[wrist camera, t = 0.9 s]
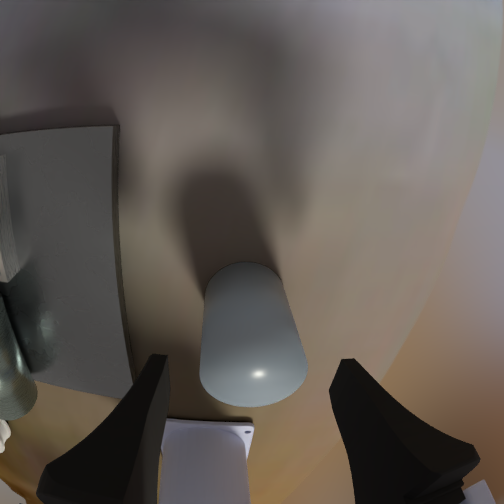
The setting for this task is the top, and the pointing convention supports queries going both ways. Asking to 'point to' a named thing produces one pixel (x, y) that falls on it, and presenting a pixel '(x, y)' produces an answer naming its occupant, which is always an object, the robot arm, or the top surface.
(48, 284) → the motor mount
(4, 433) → the lid
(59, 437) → the top surface
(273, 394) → the grey rounded capsule
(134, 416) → the robot arm
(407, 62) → the top surface
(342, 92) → the top surface
